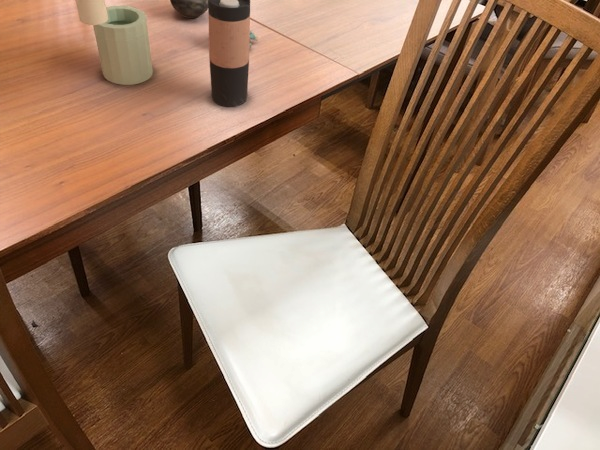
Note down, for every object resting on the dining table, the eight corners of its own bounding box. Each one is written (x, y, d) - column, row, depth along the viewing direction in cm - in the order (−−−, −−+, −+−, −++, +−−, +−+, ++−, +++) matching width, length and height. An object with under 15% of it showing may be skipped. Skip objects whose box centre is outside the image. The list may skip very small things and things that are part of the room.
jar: (92, 73, 105) (80, 16, 97) (127, 56, 112) (119, 1, 103) (128, 90, 102) (119, 33, 94) (162, 71, 109) (156, 16, 100)
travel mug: (203, 93, 104) (199, -6, 90) (234, 84, 108) (234, -13, 94) (224, 111, 100) (223, 11, 86) (255, 100, 104) (259, 3, 90)
